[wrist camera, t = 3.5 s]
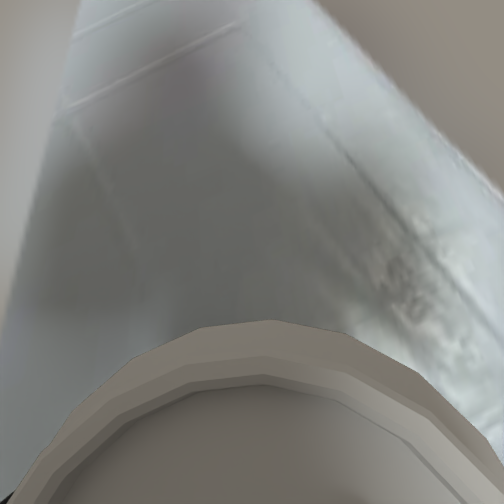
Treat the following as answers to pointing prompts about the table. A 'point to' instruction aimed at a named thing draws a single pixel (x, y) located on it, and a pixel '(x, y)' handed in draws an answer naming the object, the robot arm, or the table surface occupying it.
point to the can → (265, 428)
